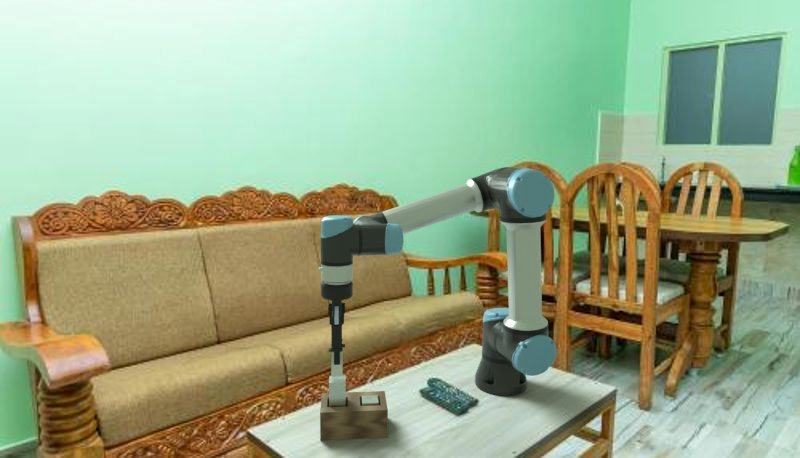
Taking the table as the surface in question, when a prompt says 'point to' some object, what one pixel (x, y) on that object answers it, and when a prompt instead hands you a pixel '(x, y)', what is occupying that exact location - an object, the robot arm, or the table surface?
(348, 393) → the wooden peg hole block
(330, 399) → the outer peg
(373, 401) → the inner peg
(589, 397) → the table surface
